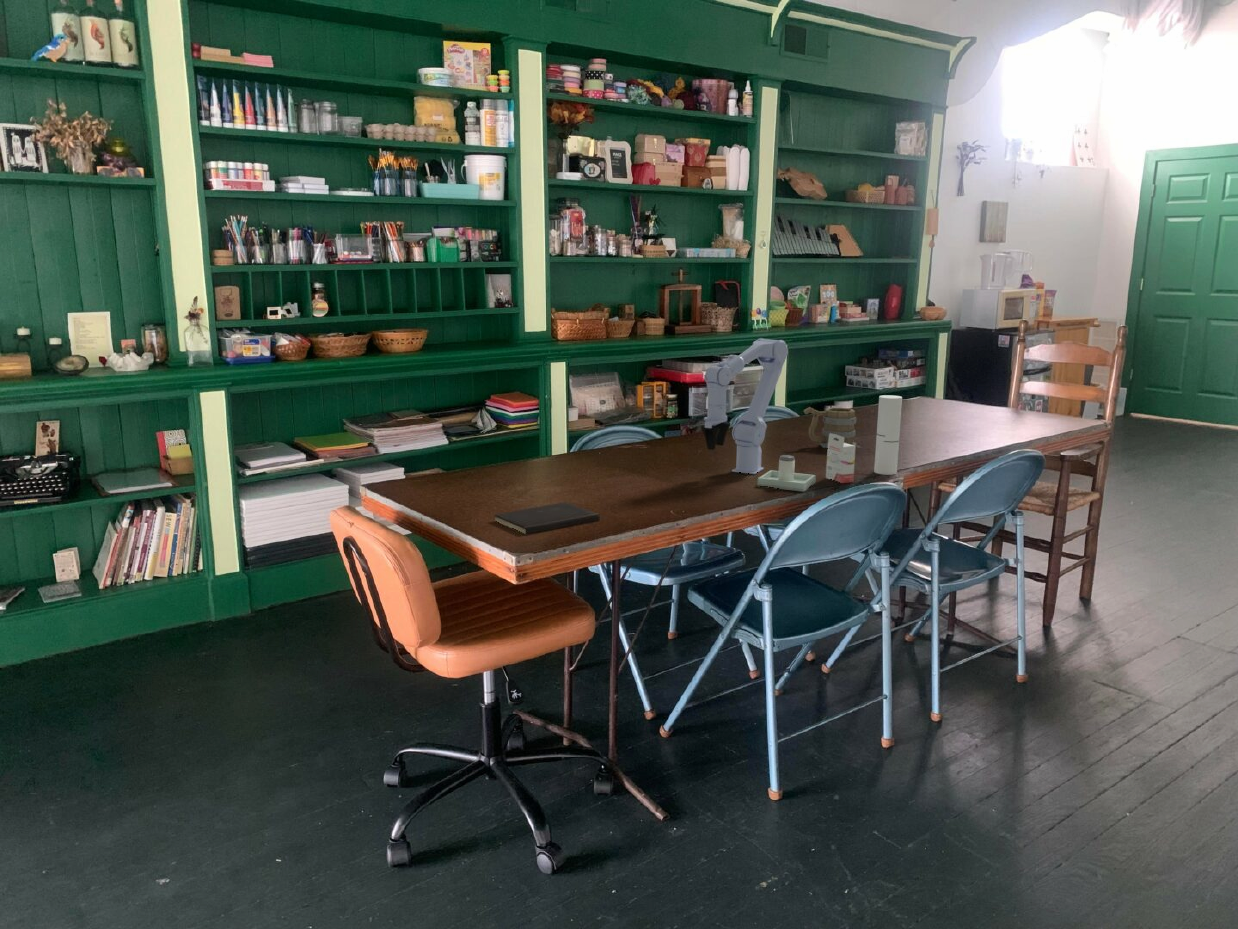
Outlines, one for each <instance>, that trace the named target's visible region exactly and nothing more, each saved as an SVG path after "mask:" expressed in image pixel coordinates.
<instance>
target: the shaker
mask: <svg viewBox="0 0 1238 929" xmlns="http://www.w3.org/2000/svg"><path fill="white" fill-rule="evenodd" d="M795 463H796V459H795V456H794V455H790V454H789V455H788V454H787V455H786V454H783V455H780V456H779V460H778V471H779V472H778V480H783V481H792V482H794V473H795V466H796V464H795Z"/></svg>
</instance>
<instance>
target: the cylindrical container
mask: <svg viewBox="0 0 1238 929" xmlns="http://www.w3.org/2000/svg"><path fill="white" fill-rule="evenodd" d="M902 402H903V397H902V396H900V395H893V394H892V395H889V394H888V395H886V394H884V395H879V397H878V410H877V424H876V439H875V454H874V469H873V471H874V473H875V474H879V475H883V476H886V475H888V476H892V475H897V474H898V462H899V449H900V448H899V446H900V433H901V419H902V406H903V403H902Z"/></svg>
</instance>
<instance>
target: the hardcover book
mask: <svg viewBox="0 0 1238 929" xmlns="http://www.w3.org/2000/svg"><path fill="white" fill-rule="evenodd" d="M493 516H494V517H495V519H494V521H495V522H496V521H497V522H496V523H498V522H499V524H501V525H504V526H505V527H507V526H508V528H510V529H512V528H514V529H516V530H518V531H517V532H519V531H520V532H519V533H521V532H522V533H521V534H523V533H524V534H523V535H526V534H529V535H533V534H532V533H534V534H538V533H537V532H539V533H543V532H542V531H544V532H547V531H548V530H549V531H553V530H552V529H554V530H557V529H556V528H559V529H563V528H568V527H573V526H574V525H575V526H578V524H580V525H583V523H585V524H588V523H587V522H590V523H593V522H592V521H595V522H599V521H598V520H600V518H601V517H600V514H599V513H598V512H595V511H592V510H589V509H587V508H584V507H581V506H578V505H575V504H572V503H571V502H570V503H569V502H567V501H564V502H558V503H553V504H546V505H541V506H537V507H536V506H535V507H531V508H524V509H519V510H513V511H508V512H503V513H497V514H496V513H495V514H493ZM600 521H601V520H600ZM514 529H513V530H514ZM516 530H515V531H516Z"/></svg>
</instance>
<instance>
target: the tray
mask: <svg viewBox="0 0 1238 929" xmlns="http://www.w3.org/2000/svg"><path fill="white" fill-rule="evenodd" d="M778 472H779V470H768V471H767V472H766V473H764V474H763V475H761V476H759V477H758V478H757V486H758V485H761V486H768V487H767V488H769V487H774V488H773V489H777V488H779V489H778V490H787V491H796V492H802V493H803V492H805V491H807V490H808V489H810V488H811V487H812V486H813V485H814V484H816V479H817V476H816V474H807V473H799V472H798V473H797V472H794V482H792V481H783V480H778ZM811 485H812V486H811ZM810 486H811V487H810ZM809 487H810V488H809Z"/></svg>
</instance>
